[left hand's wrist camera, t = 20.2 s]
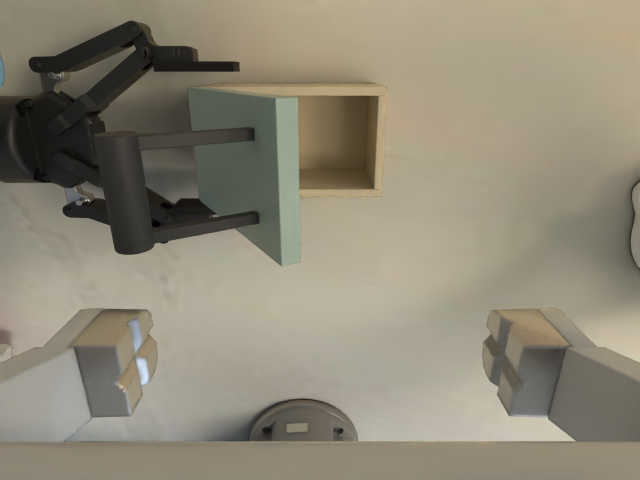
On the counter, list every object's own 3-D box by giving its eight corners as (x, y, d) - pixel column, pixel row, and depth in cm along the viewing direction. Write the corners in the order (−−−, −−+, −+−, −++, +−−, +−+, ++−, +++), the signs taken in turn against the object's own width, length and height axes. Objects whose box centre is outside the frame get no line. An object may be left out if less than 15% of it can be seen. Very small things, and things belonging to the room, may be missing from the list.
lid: (298, 97, 22) (93, 104, 17) (301, 262, 25) (130, 304, 21) (203, 86, 34) (69, 89, 30) (213, 198, 38) (95, 215, 33)
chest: (374, 83, 43) (387, 86, 34) (370, 173, 46) (381, 197, 38) (221, 83, 43) (197, 86, 34) (228, 173, 46) (208, 197, 38)
